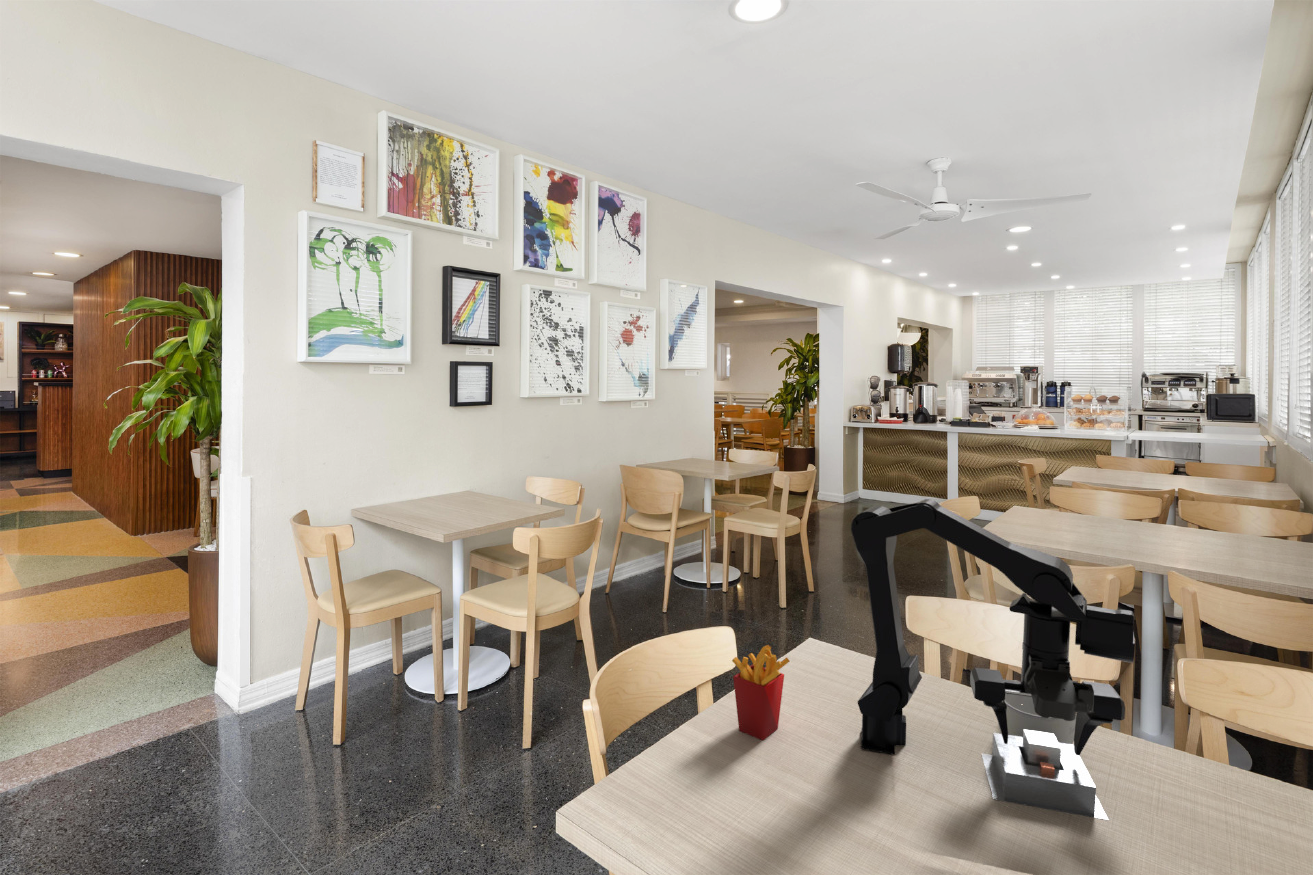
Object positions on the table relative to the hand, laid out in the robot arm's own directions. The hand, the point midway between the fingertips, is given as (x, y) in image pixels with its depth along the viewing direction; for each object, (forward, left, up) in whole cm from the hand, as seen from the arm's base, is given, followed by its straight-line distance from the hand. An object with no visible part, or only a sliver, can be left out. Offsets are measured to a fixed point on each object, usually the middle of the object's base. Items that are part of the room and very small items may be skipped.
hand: (1040, 748), depth 95 cm
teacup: (+2, +15, -7) cm, 17 cm away
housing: (0, 0, -6) cm, 7 cm away
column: (0, 0, -6) cm, 6 cm away
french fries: (-41, +4, -7) cm, 42 cm away
